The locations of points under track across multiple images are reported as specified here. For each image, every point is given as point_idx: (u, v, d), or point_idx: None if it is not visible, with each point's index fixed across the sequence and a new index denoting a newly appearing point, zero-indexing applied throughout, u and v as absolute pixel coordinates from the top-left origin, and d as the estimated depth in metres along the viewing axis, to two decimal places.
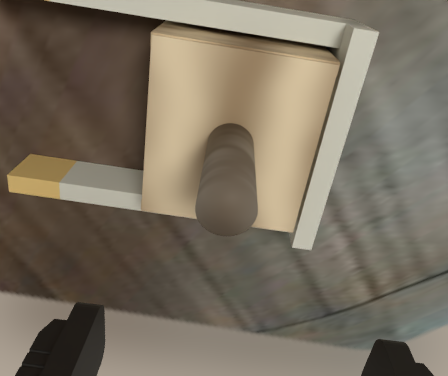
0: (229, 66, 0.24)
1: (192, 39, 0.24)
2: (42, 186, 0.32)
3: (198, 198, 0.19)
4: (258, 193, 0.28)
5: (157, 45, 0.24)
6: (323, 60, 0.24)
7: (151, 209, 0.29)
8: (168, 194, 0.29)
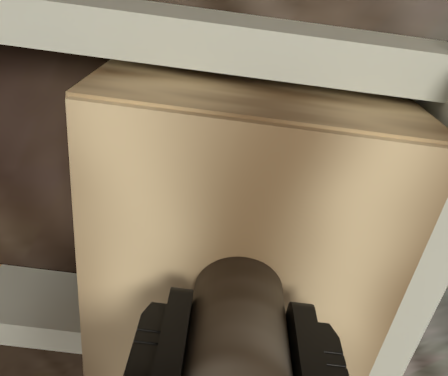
0: (232, 157, 0.12)
1: (153, 104, 0.11)
2: None
3: None
4: None
5: (80, 119, 0.11)
6: (431, 140, 0.11)
7: None
8: None
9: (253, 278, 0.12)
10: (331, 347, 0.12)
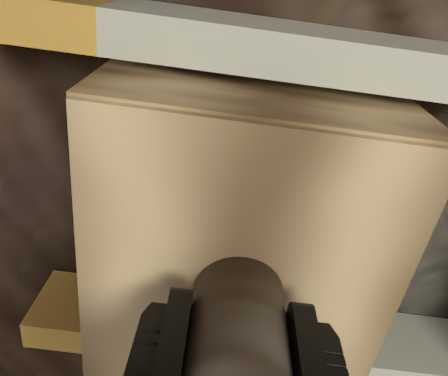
0: (233, 157, 0.12)
1: (154, 104, 0.11)
2: (76, 340, 0.20)
3: None
4: None
5: (80, 119, 0.11)
6: (431, 141, 0.12)
7: None
8: None
9: (253, 278, 0.12)
10: (331, 347, 0.12)
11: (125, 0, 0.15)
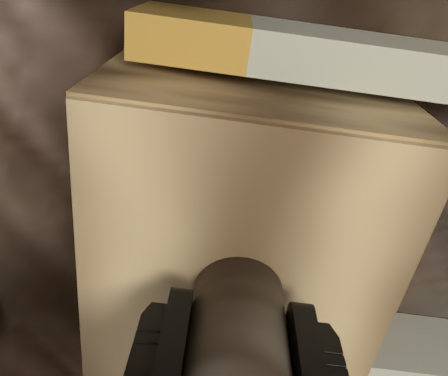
0: (232, 157, 0.12)
1: (154, 104, 0.11)
2: None
3: None
4: None
5: (80, 119, 0.11)
6: (431, 141, 0.12)
7: None
8: None
9: (253, 278, 0.12)
10: (331, 347, 0.12)
11: (257, 18, 0.15)
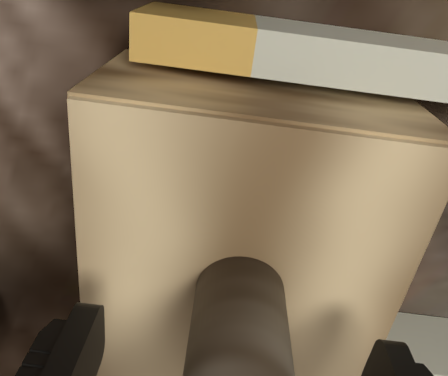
0: (233, 157, 0.12)
1: (155, 104, 0.11)
2: None
3: None
4: None
5: (81, 119, 0.11)
6: (432, 140, 0.12)
7: None
8: (130, 363, 0.16)
9: (255, 278, 0.12)
10: None
11: (261, 19, 0.15)
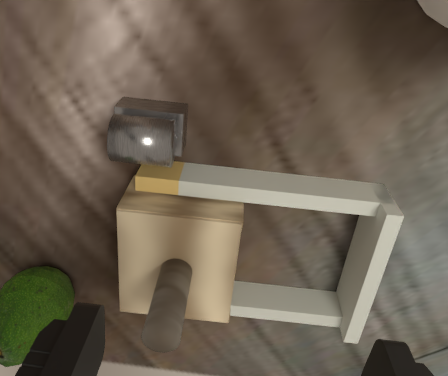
0: (169, 226, 0.36)
1: (143, 211, 0.36)
2: None
3: (142, 333, 0.32)
4: (200, 299, 0.40)
5: (120, 216, 0.36)
6: (231, 220, 0.36)
7: (127, 310, 0.41)
8: (137, 301, 0.41)
9: (178, 265, 0.37)
10: None
11: (185, 167, 0.40)
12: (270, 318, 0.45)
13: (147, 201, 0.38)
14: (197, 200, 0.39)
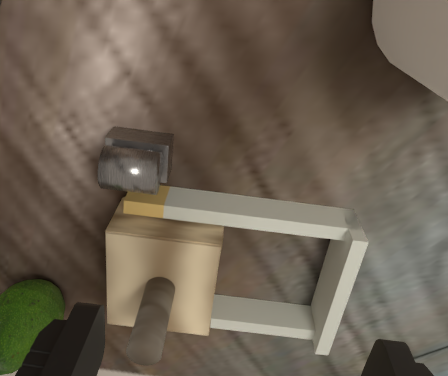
0: (154, 248, 0.40)
1: (130, 234, 0.39)
2: None
3: (127, 347, 0.35)
4: (182, 313, 0.43)
5: (109, 238, 0.39)
6: (211, 243, 0.39)
7: (114, 323, 0.45)
8: (124, 314, 0.44)
9: (162, 283, 0.40)
10: None
11: (170, 192, 0.43)
12: (248, 331, 0.48)
13: (134, 224, 0.41)
14: (180, 223, 0.42)
